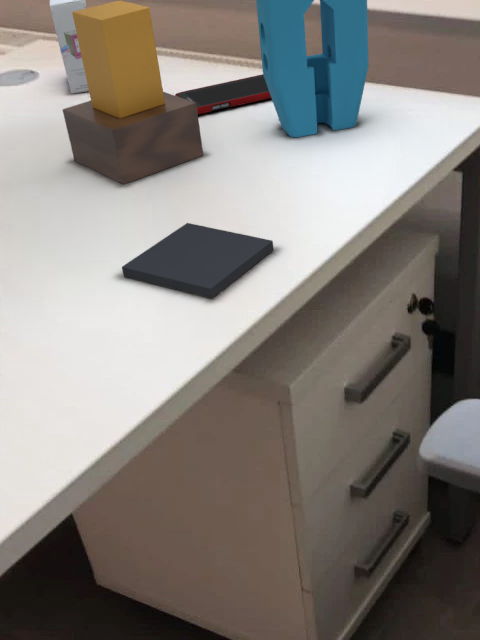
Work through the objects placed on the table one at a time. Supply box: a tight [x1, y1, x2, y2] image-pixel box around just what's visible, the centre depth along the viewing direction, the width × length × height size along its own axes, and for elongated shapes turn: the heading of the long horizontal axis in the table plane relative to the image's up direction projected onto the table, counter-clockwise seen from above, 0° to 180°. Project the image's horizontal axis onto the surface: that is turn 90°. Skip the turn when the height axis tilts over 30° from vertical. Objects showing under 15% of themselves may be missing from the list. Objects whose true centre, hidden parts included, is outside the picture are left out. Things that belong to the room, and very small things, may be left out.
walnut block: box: [62, 91, 204, 185], centre depth 102 cm, size 11×11×6 cm
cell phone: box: [174, 73, 272, 115], centre depth 118 cm, size 8×15×1 cm, turn 116°
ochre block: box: [72, 0, 165, 118], centre depth 97 cm, size 6×6×10 cm
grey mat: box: [121, 222, 275, 299], centre depth 81 cm, size 10×10×1 cm
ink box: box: [49, 0, 89, 94], centre depth 125 cm, size 9×5×12 cm, turn 13°
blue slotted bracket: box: [255, 0, 370, 138], centre depth 102 cm, size 12×5×20 cm, turn 107°
